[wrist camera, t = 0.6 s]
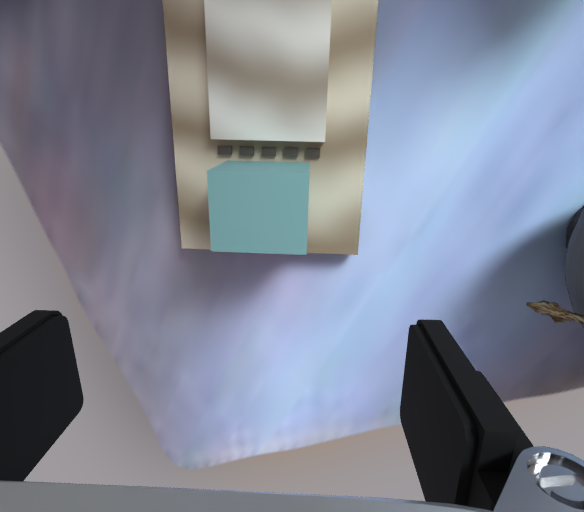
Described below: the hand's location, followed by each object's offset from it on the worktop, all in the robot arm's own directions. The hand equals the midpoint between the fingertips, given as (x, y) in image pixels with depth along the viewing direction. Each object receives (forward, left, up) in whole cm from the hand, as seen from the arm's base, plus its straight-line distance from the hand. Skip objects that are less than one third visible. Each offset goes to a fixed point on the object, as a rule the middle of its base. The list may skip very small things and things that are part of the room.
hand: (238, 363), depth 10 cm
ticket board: (-5, -1, -22) cm, 23 cm away
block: (-1, -1, -20) cm, 20 cm away
